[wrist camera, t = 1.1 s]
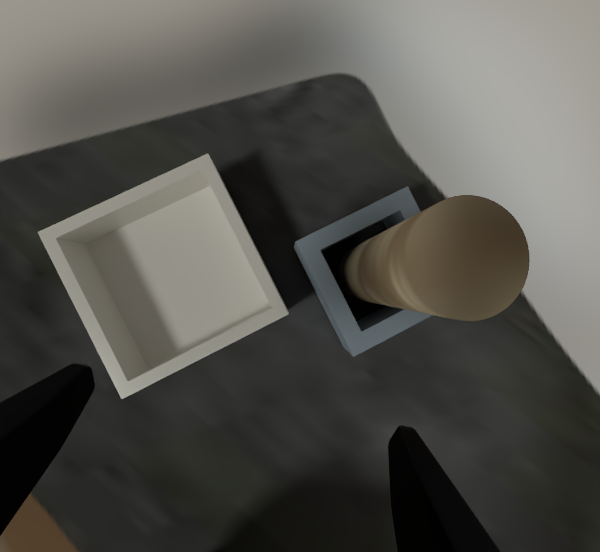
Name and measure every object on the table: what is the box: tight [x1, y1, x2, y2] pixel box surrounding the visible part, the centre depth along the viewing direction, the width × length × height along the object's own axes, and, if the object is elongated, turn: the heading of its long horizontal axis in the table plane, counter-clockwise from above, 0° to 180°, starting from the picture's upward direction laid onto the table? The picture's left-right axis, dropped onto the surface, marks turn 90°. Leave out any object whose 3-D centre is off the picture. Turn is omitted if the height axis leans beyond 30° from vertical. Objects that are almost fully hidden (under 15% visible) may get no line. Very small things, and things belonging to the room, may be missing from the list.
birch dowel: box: [338, 195, 529, 321], centre depth 17 cm, size 4×4×13 cm
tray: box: [38, 154, 289, 399], centre depth 21 cm, size 12×12×4 cm
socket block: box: [294, 186, 432, 357], centre depth 22 cm, size 8×8×4 cm
